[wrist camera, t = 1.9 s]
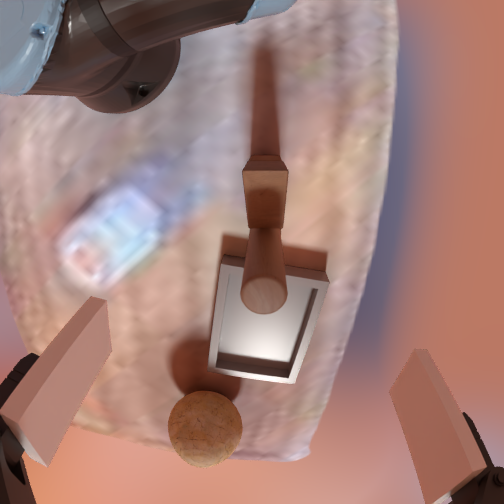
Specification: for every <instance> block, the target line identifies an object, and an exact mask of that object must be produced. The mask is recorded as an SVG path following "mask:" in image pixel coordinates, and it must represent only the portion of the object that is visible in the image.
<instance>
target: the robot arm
mask: <svg viewBox="0 0 504 504" xmlns="http://www.w3.org/2000/svg"><path fill="white" fill-rule="evenodd" d="M296 1H297V0H0V93H1V94H7V95H11V96H21V95H59V96H75V97H76V98H77V99H79V100H80V101H81V102H82V103H84V104H85V105H86V106H87V107H89V108H91V109H93V110H96V111H99V112H103V113H116V114H117V113H127V112H131V111H134V110H137V109H139V108H141V107H143V106H145V105H147V104H148V103H150V102H151V101H153V100H154V99H155V98H156V97H157V96H158V95H160V94H161V92H162V91H163V90H164V89H165V88H166V87H167V85H168V84H169V82H170V81H171V79H172V77H173V75H174V73H175V71H176V68H177V65H178V62H179V57H180V42H179V38H182V37H185V36H188V35H192V34H195V33H198V32H202V31H206V30H209V29H213V28H217V27H221V26H225V25H229V24H234V23H235V24H236V25H240V24H244V23H246V22H248V21H249V20H252V19H256V18H261V17H265V16H270V15H276V14H280V13H282V12H285V11H286V10H288V9H289V8H290V7H291V6H292V5H293V4H294V3H295V2H296ZM111 352H112V346H111V338H110V330H109V320H108V310H107V300H103V299H99V298H95V297H92V296H91V297H90V298H89V299H88V300H87V301H86V302H85V303H84V305H83V306H82V307H81V308H80V309H79V310H78V311H77V313H76V314H75V315H74V316H73V317H72V318H71V319H70V321H69V322H68V323H67V324H66V325H65V326H64V328H63V329H62V330H61V331H60V332H59V334H58V335H57V336H56V337H55V338H54V340H53V341H52V342H51V343H50V344H49V346H48V347H47V348H46V349H45V351H44V352H43V353H42V354H41V356H38V355H36V354H34V353H30V354H29V355H27V356H26V357H24V358H23V359H21V360H20V361H19V362H18V363H17V365H16V366H15V367H14V368H13V371H11V372H10V373H9V375H8V376H7V378H5V380H4V381H3V382H2V383H1V385H0V504H36V501H35V498H34V495H33V492H32V489H31V486H30V482H29V479H28V476H27V472H26V468H25V464H24V461H23V459H22V457H21V456H22V454H23V452H24V450H25V452H26V453H27V454H28V455H29V457H30V458H31V459H33V460H35V461H36V462H38V463H40V464H42V465H44V466H46V467H49V465H50V463H51V461H52V459H53V457H54V455H55V453H56V451H57V449H58V447H59V445H60V443H61V441H62V439H63V437H64V435H65V433H66V431H67V429H68V428H69V426H70V424H71V422H72V420H73V418H74V416H75V415H76V413H77V411H78V409H79V407H80V405H81V404H82V402H83V400H84V398H85V396H86V395H87V393H88V391H89V389H90V388H91V386H92V384H93V382H94V381H95V379H96V377H97V375H98V374H99V372H100V370H101V369H102V367H103V365H104V364H105V362H106V360H107V358H108V357H109V355H110V353H111ZM389 393H390V396H391V398H392V401H393V404H394V407H395V409H396V412H397V415H398V418H399V421H400V423H401V426H402V429H403V432H404V435H405V438H406V441H407V444H408V447H409V450H410V453H411V456H412V460H413V463H414V466H415V469H416V472H417V476H418V479H419V483H420V486H421V490H422V493H423V497H424V500H425V504H440V503H442V502H444V501H445V500H446V499H447V498H449V497H451V498H452V501H451V502H450V503H449V504H504V468H503V467H494V465H493V463H492V461H491V458H490V456H489V454H488V452H487V450H486V448H485V445H484V443H483V441H482V439H480V435H479V433H478V432H477V429H476V427H475V425H474V423H473V421H472V420H471V419H470V417H468V415H467V414H466V413H465V412H463V413H462V412H461V410H460V408H459V406H458V404H457V402H456V400H455V399H454V397H453V395H452V393H451V391H450V389H449V387H448V385H447V384H446V382H445V380H444V378H443V376H442V375H441V373H440V371H439V370H438V368H437V366H436V364H435V362H434V361H433V359H432V357H431V355H430V354H429V352H428V350H426V349H414V350H413V352H412V354H411V355H410V357H409V359H408V361H407V362H406V364H405V366H404V368H403V369H402V371H401V373H400V375H399V376H398V378H397V379H396V381H395V383H394V385H393V386H392V387H391V389H390V391H389Z"/></svg>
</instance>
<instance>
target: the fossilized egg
mask: <svg viewBox="0 0 504 504" xmlns="http://www.w3.org/2000/svg"><path fill="white" fill-rule="evenodd" d="M168 432H169V437H170V440H171V443H172V445H173V447H174V449H175V451H176V452H177V453H178V454H179V456H180V457H181V458H182V459H183V460H184V461H186V462H187V463H188V464H190V465H192V466H196V467H201V468H207V467H211V466H215V465H217V464H219V463H221V462H222V461H224V460H225V459H227V458H228V457H229V456H230V455H231V454H232V453H233V452H234V450H235V449H236V447H237V446H238V444H239V442H240V439H241V436H242V420H241V416H240V414H239V412H238V410H237V408H236V407H235V405H234V404H233V403H232V402H231V401H230V400H229V399H228V398H226V397H225V396H223V395H221V394H219V393H216V392H212V391H196V392H193V393H191V394H188V395H186V396H184V397H183V398H182V399H181V400H179V401H178V402H177V403H176V405H175V406H174V408H173V409H172V411H171V413H170V417H169V421H168Z"/></svg>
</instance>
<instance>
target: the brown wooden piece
mask: <svg viewBox="0 0 504 504" xmlns="http://www.w3.org/2000/svg"><path fill="white" fill-rule="evenodd" d="M288 173H289V172H288V169H287V167H286V166H285V164H284V162H283V161H282V160H281V158H280V156H278V155H253V156H251V157H250V159H249V161H248V162H247V164H246V165H245V167H244V169H243V170H242V175H243V184H244V193H245V202H246V211H247V219H248V227H249V228H250V233H249V239H248V246H247V252H246V259H245V265H244V271H243V278H242V284H241V291H240V296H241V300H242V302H243V304H244V305H245V307H247V308H248V309H249V310H250V311H252V312H254V313H256V314H263V315H265V314H271V313H274V312H276V311H278V310H279V309H280V308H281V307H282V306H283V305H284V303H285V302H286V300H287V296H288V291H287V283H286V274H285V266H284V258H283V250H282V242H281V229H282V228H283V223H284V213H285V204H286V193H287V183H288Z"/></svg>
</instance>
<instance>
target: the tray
mask: <svg viewBox="0 0 504 504" xmlns="http://www.w3.org/2000/svg"><path fill="white" fill-rule="evenodd" d="M245 259H246V258H241V257H236V256H230V255H224V256H223V259H222V262H221V268H220V275H219V282H218V289H217V297H216V304H215V312H214V319H213V327H212V335H211V343H210V351H209V360H208V368H207V371H208V372H214V373H219V374H225V375H231V376H237V377H243V378H250V379H257V380H265V381H272V382H281V383H290V384H294V383H295V380H296V378H297V375H298V372H299V370H300V367H301V365H302V362H303V359H304V356H305V354H306V351H307V348H308V345H309V343H310V340H311V337H312V334H313V331H314V328H315V325H316V323H317V320H318V317H319V314H320V311H321V308H322V305H323V302H324V298H325V295H326V292H327V289H328V286H329V283H330V282H329V279H328V277H327V274H326V272H322V271H316V270H311V269H305V268H299V267H293V266H287V265H284V266H285V274H286V283H287V291H288V296H287V300H286V302H285V303H284V305H283V306H282V307H281V308H280V309H279V310H278V311H276V312H274V313H271V314H265V315H263V314H256V313H254V312H252V311H250V310H249V309H248V308H247V307H245V305H244V304H243V302H242V300H241V296H240V291H241V284H242V278H243V271H244V265H245Z"/></svg>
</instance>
